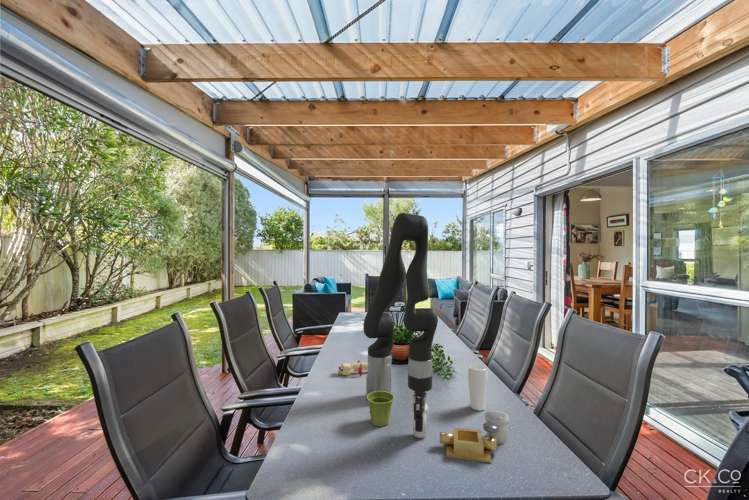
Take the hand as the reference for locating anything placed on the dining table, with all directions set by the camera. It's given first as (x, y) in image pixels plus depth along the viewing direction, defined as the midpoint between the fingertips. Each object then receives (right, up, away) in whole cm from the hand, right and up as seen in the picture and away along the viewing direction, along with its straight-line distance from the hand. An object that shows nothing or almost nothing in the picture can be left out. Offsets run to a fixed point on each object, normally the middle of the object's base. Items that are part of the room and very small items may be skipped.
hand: (419, 427), depth 106 cm
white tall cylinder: (+24, -3, +19) cm, 31 cm away
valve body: (+13, -3, -7) cm, 15 cm away
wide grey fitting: (+24, -3, -1) cm, 24 cm away
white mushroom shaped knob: (0, -2, 0) cm, 2 cm away
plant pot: (-12, -3, +9) cm, 15 cm away
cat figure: (-19, -3, +55) cm, 58 cm away
